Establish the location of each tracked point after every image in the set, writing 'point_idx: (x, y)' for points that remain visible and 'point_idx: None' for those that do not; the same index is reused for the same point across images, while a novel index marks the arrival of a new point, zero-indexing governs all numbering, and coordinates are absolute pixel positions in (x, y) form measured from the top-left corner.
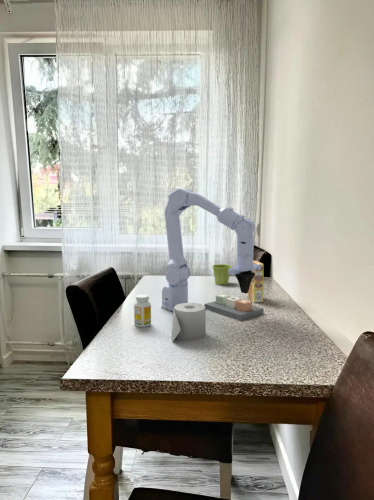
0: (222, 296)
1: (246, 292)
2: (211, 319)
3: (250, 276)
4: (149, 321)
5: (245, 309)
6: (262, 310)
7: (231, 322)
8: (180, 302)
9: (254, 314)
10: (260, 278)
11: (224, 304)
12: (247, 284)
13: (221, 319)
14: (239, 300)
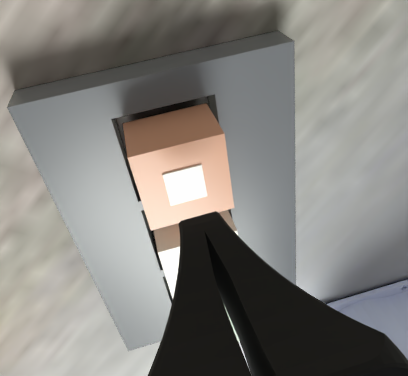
0: (230, 320)
1: (206, 217)
2: (385, 134)
3: (249, 373)
4: None
5: (201, 114)
6: (25, 98)
7: (347, 31)
8: (392, 320)
9: (127, 70)
10: None
11: None
12: (237, 274)
13: (347, 110)
14: (171, 241)
